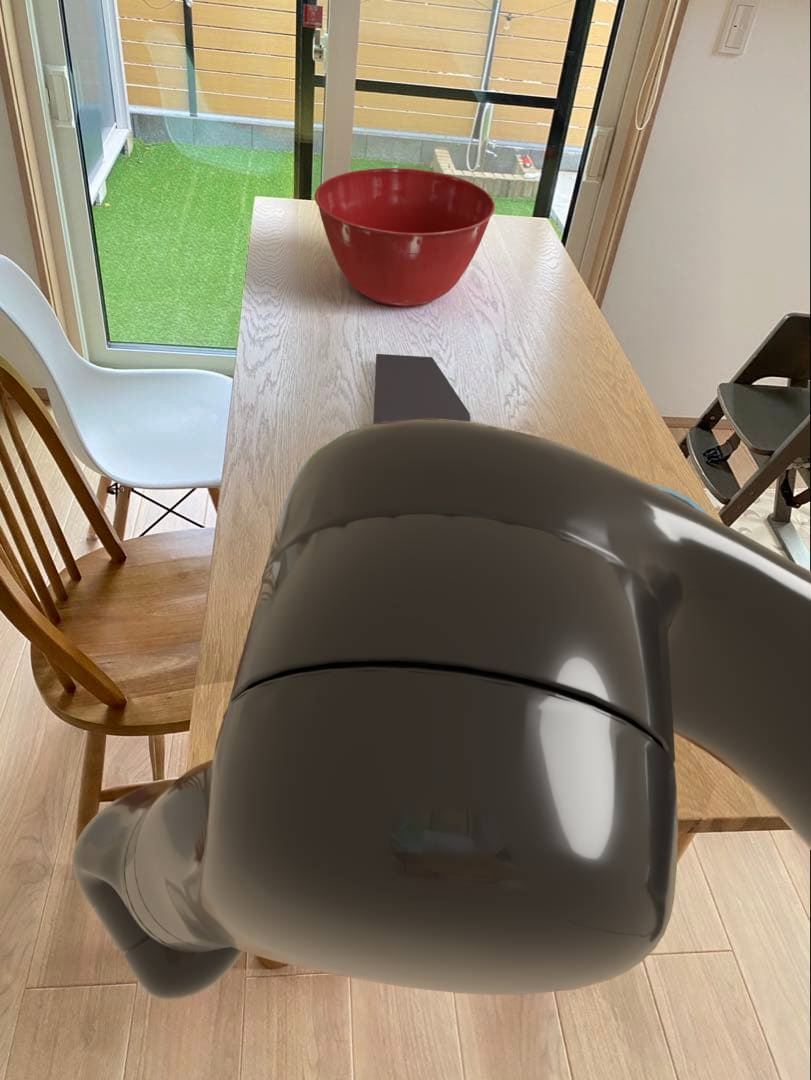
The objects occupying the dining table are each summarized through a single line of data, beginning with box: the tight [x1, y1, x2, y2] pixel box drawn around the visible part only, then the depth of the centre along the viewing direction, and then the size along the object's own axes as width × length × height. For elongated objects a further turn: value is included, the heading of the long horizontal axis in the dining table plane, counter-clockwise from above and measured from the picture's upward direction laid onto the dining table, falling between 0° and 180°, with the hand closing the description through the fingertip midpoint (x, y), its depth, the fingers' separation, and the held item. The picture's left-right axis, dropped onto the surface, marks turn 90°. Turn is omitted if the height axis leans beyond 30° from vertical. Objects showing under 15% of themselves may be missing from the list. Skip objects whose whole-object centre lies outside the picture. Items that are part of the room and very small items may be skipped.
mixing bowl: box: [314, 167, 496, 308], centre depth 128 cm, size 28×28×15 cm
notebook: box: [372, 353, 472, 425], centre depth 107 cm, size 13×2×21 cm
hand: (552, 586), depth 60 cm, fingers closed on salt shaker, 3 cm apart
